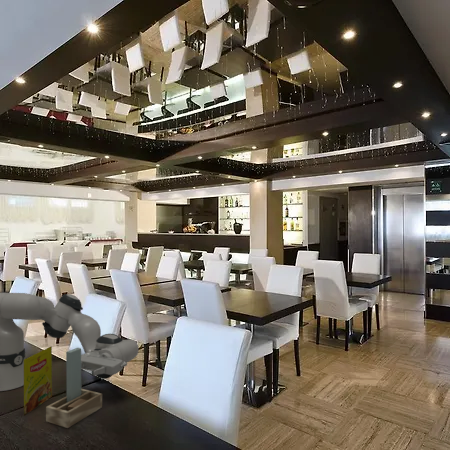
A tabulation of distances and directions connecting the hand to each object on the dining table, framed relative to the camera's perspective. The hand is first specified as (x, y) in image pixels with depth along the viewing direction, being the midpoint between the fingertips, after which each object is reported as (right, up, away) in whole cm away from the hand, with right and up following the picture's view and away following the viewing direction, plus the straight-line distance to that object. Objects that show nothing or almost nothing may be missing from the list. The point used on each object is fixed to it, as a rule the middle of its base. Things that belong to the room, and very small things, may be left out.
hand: (83, 371), depth 142 cm
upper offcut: (+1, -11, -8) cm, 13 cm away
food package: (-17, -13, 0) cm, 21 cm away
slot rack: (0, -13, -7) cm, 14 cm away
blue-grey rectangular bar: (-2, -13, -4) cm, 13 cm away
